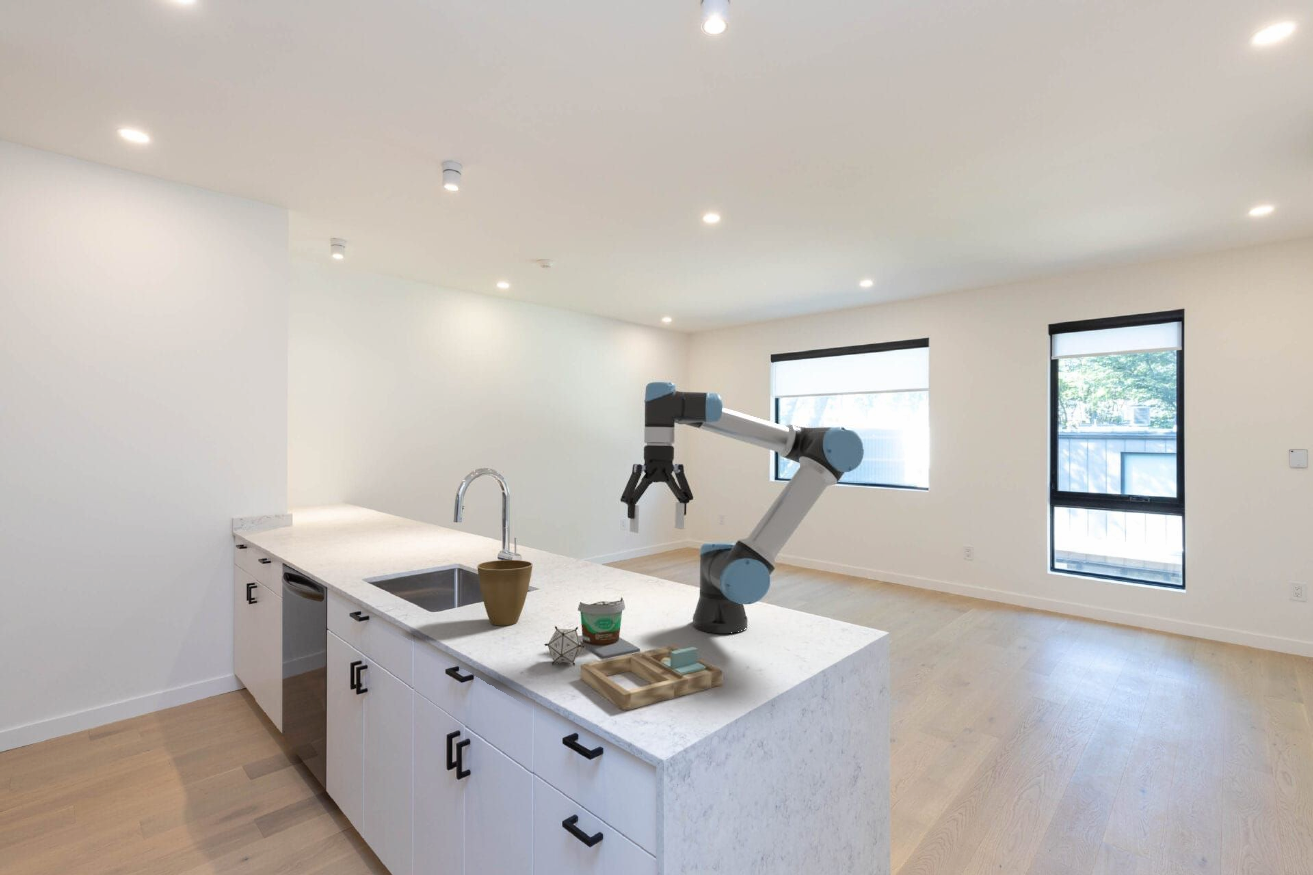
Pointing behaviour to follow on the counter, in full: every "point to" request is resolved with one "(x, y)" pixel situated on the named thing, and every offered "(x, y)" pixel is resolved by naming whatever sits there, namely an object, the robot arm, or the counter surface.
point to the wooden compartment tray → (647, 678)
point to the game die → (564, 645)
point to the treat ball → (665, 660)
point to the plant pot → (504, 589)
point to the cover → (684, 661)
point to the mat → (611, 648)
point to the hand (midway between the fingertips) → (657, 530)
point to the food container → (601, 622)
